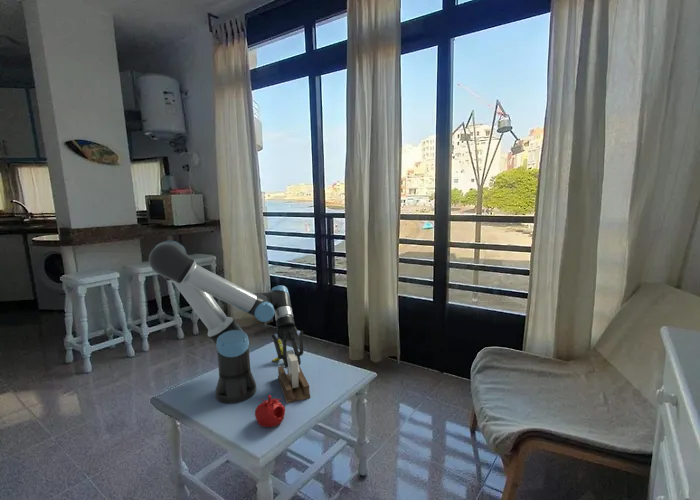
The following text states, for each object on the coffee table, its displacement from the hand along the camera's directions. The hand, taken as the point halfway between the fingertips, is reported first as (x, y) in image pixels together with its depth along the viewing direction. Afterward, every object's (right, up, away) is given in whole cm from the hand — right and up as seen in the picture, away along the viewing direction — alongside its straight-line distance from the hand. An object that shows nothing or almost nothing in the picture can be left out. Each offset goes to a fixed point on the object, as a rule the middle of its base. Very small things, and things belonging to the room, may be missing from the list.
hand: (294, 373), depth 135 cm
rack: (-1, -7, +5) cm, 9 cm away
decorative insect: (-9, -5, +26) cm, 28 cm away
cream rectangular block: (-1, -5, +4) cm, 6 cm away
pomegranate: (-5, -10, -17) cm, 21 cm away
